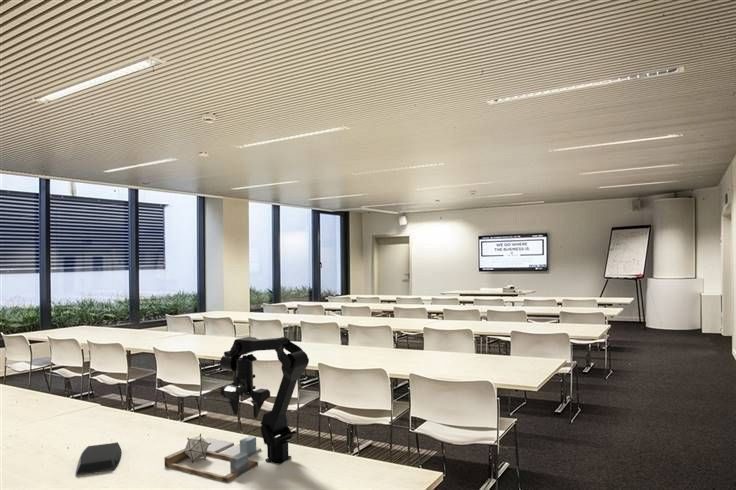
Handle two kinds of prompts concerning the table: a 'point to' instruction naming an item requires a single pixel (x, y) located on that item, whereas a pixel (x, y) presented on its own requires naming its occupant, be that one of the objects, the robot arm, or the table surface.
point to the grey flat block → (245, 446)
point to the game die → (196, 448)
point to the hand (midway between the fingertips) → (245, 416)
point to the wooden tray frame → (237, 462)
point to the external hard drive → (99, 459)
